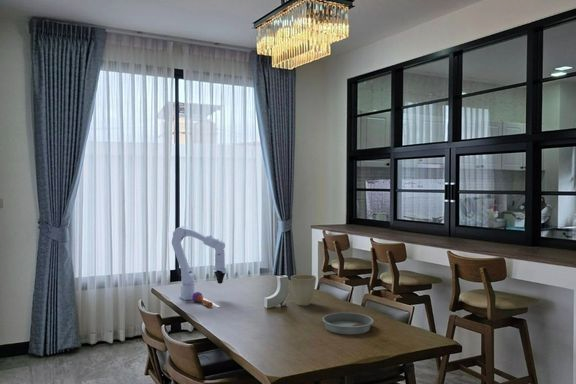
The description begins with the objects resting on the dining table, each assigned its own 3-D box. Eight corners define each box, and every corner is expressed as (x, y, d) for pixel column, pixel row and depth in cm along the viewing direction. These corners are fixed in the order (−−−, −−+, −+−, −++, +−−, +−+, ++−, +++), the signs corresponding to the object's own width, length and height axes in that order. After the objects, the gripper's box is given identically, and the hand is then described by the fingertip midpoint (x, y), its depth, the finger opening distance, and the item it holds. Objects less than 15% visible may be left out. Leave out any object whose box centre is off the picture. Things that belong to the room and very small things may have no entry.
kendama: (204, 301, 272) (190, 292, 289) (206, 311, 273) (191, 301, 290) (214, 298, 276) (199, 289, 292) (215, 308, 277) (200, 298, 293)
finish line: (200, 298, 296) (200, 298, 296) (203, 298, 297) (203, 297, 297) (217, 307, 274) (217, 307, 274) (221, 306, 275) (221, 306, 275)
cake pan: (333, 338, 220) (333, 328, 220) (315, 323, 244) (315, 314, 244) (382, 333, 227) (382, 323, 226) (360, 319, 250) (360, 310, 250)
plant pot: (310, 300, 291) (310, 273, 291) (320, 306, 277) (320, 278, 277) (287, 302, 286) (287, 275, 286) (295, 308, 272) (295, 279, 272)
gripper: (231, 262, 291) (231, 284, 292) (220, 258, 304) (221, 280, 304) (220, 263, 288) (220, 285, 288) (210, 259, 300) (210, 281, 300)
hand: (219, 283), depth 296 cm, fingers closed
